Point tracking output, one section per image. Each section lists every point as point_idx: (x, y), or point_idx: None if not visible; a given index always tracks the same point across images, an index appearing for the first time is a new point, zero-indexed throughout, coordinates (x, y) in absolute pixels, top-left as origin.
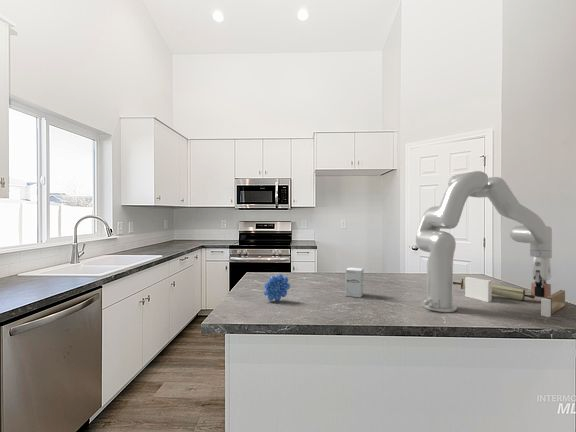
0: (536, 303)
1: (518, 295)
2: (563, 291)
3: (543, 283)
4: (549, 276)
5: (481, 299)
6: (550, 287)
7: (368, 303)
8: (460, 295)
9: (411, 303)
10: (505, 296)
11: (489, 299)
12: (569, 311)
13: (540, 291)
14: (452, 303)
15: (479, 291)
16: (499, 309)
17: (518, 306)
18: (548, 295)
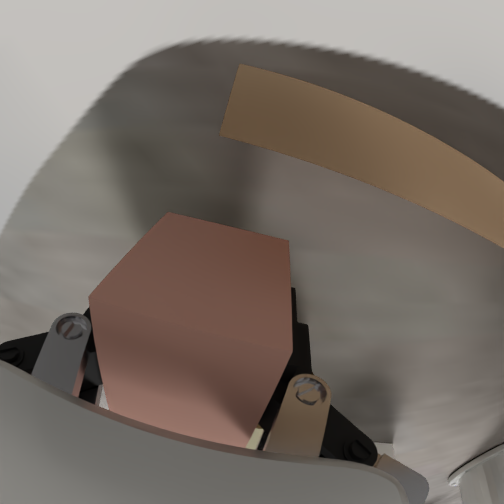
0: (307, 294)
1: None
2: (363, 104)
3: (113, 373)
4: (68, 470)
5: None
6: (140, 276)
7: (458, 497)
8: None
9: (451, 487)
10: None
11: (385, 451)
12: (455, 97)
13: (309, 353)
14: (501, 461)
15: None
16: (494, 400)
17: (440, 369)
18: (282, 256)
